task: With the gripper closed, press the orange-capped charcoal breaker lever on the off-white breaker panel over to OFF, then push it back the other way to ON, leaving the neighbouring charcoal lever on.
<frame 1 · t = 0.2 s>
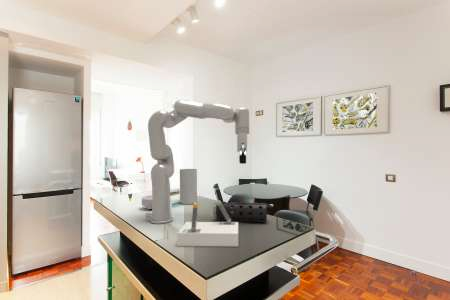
hand: (242, 163, 131), 31 cm above the kitchen island, tool pointing down, fingers open, 9 cm apart
tripped lever: (194, 216, 99), point 11 cm above the kitchen island, hinge at 5.0°
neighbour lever: (224, 211, 109), point 10 cm above the kitchen island, hinge at -30.0°
cylinder vase: (188, 203, 181), on the kitchen island
muzzle brake: (240, 221, 131), on the kitchen island
breaker panel: (210, 239, 104), on the kitchen island
paper bowls: (153, 208, 164), on the kitchen island
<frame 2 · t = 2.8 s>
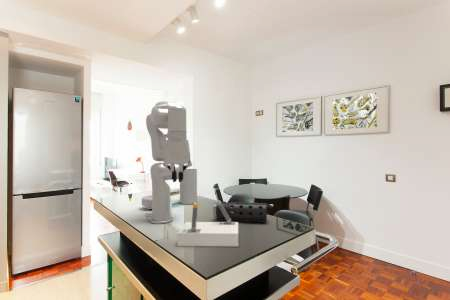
hand: (177, 181, 100), 25 cm above the kitchen island, tool pointing down, fingers closed
nothing on the kitchen island moved.
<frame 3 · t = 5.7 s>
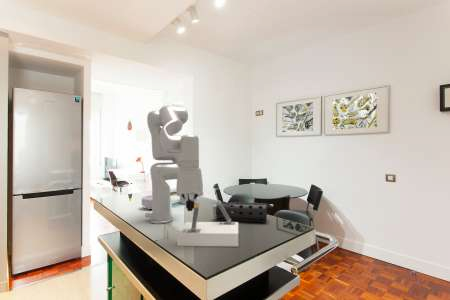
hand: (190, 210, 99), 13 cm above the kitchen island, tool pointing down, fingers closed
tripped lever: (195, 216, 99), point 11 cm above the kitchen island, hinge at 8.3°, touching gripper
everything else where it was.
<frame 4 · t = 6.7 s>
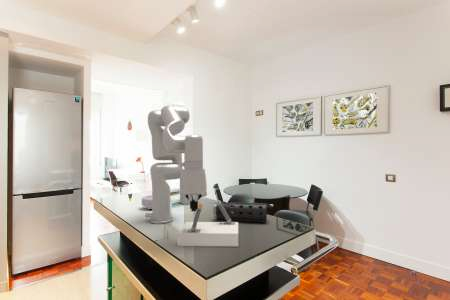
hand: (194, 210, 99), 13 cm above the kitchen island, tool pointing down, fingers closed
tripped lever: (197, 217, 99), point 11 cm above the kitchen island, hinge at 17.2°, touching gripper
everything else where it was.
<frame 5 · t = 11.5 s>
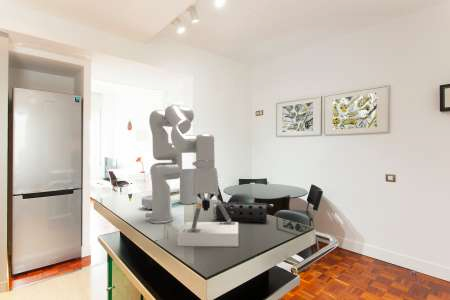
hand: (206, 210, 99), 13 cm above the kitchen island, tool pointing down, fingers closed
tripped lever: (196, 216, 99), point 11 cm above the kitchen island, hinge at 14.2°, touching gripper
everything else where it was.
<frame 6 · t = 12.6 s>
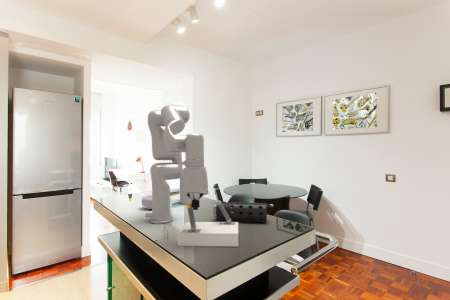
hand: (195, 209, 99), 14 cm above the kitchen island, tool pointing down, fingers closed
tripped lever: (191, 216, 99), point 11 cm above the kitchen island, hinge at -10.4°, touching gripper
everything else where it was.
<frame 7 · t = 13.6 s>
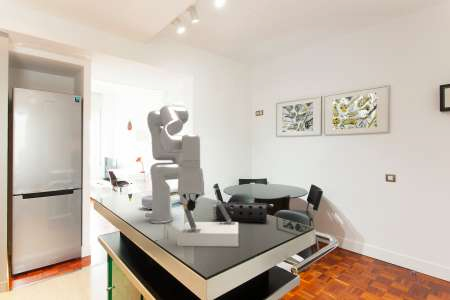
hand: (191, 210, 99), 13 cm above the kitchen island, tool pointing down, fingers closed
tripped lever: (189, 217, 99), point 11 cm above the kitchen island, hinge at -20.1°, touching gripper
everything else where it was.
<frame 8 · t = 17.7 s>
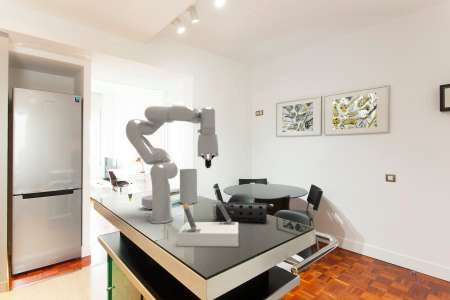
hand: (208, 167, 124), 29 cm above the kitchen island, tool pointing down, fingers closed
tripped lever: (189, 217, 99), point 11 cm above the kitchen island, hinge at -20.4°
everything else where it was.
at the end: tripped lever at -20° (first picture: +5°); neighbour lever at -30° (first picture: -30°) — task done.
